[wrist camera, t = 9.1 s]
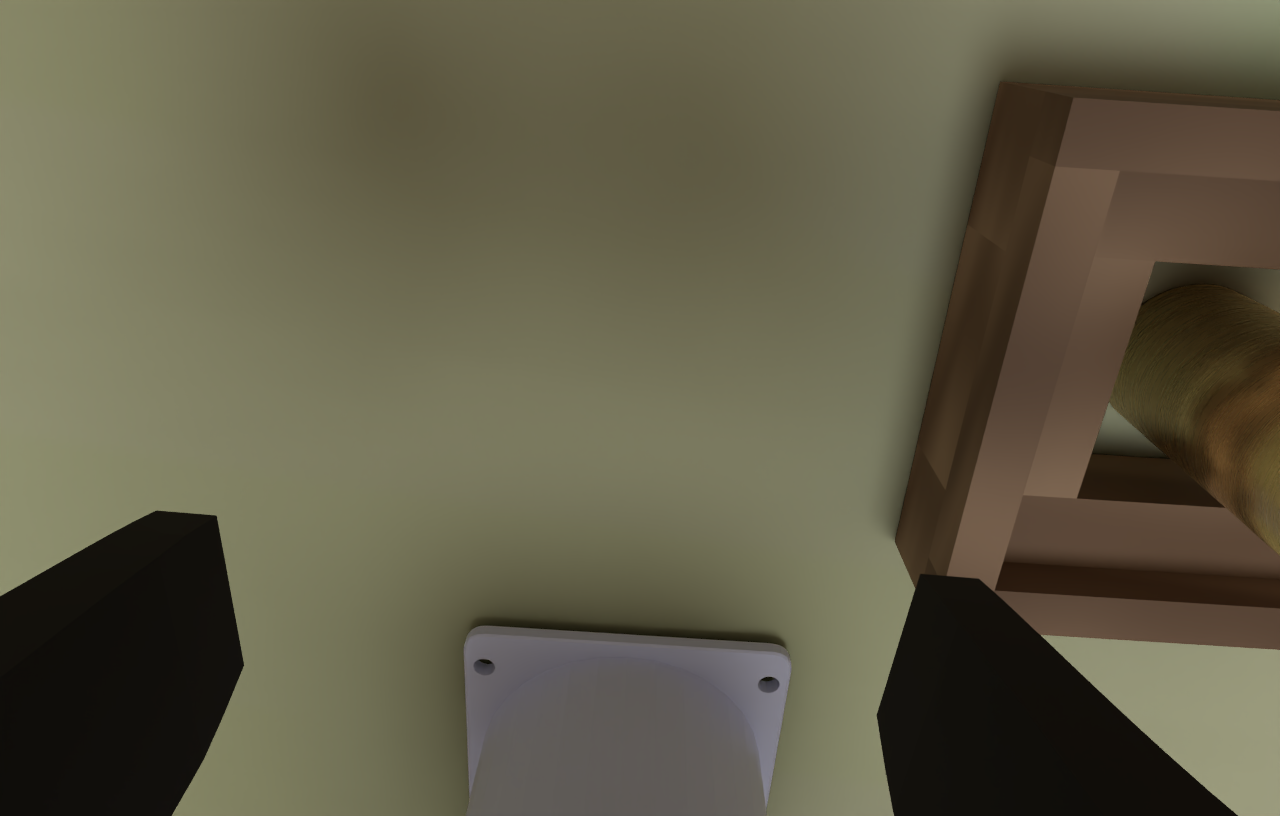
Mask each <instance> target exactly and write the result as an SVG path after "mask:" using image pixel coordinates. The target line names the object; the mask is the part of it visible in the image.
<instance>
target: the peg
mask: <svg viewBox="0 0 1280 816" xmlns="http://www.w3.org/2000/svg"><path fill="white" fill-rule="evenodd" d="M1109 402H1110V404H1111V405H1112V407H1113V408H1114V409H1115V410H1116V411H1117V412H1118V413H1119V414H1120V415H1121V416H1123V417H1124V418H1125V419H1126V420H1127V421H1128V422H1129V423H1130V424H1132V425H1133V426H1134V427H1135V428H1136V429H1137V430H1138V431H1139V432H1141V433H1142V434H1143V435H1144V436H1145V437H1146V438H1147V439H1149V440H1150V441H1151V442H1152V443H1153V444H1154V445H1155V446H1156V447H1158V448H1159V449H1160V450H1161V451H1162V452H1163V453H1164V454H1165V455H1167V456H1168V457H1169V458H1170V459H1171V460H1172V461H1173V462H1174V463H1176V464H1177V465H1178V466H1179V467H1180V468H1181V469H1182V470H1183V471H1185V472H1186V473H1187V474H1188V475H1189V476H1190V477H1191V478H1192V479H1194V480H1195V481H1196V482H1197V483H1198V484H1199V485H1200V486H1201V487H1203V488H1204V489H1205V490H1206V491H1207V492H1208V493H1209V494H1210V495H1212V496H1213V497H1214V498H1215V499H1216V500H1217V501H1218V502H1220V503H1221V504H1222V505H1223V506H1224V507H1225V508H1226V509H1227V510H1229V511H1230V512H1231V513H1232V514H1233V515H1234V516H1235V517H1236V518H1238V519H1239V520H1240V521H1241V522H1242V523H1243V524H1244V525H1245V526H1247V527H1248V528H1249V529H1250V530H1251V531H1252V532H1253V533H1254V534H1256V535H1257V536H1258V537H1259V538H1260V539H1261V540H1262V541H1263V542H1265V543H1266V544H1267V545H1268V546H1269V547H1270V548H1271V549H1272V550H1274V551H1275V552H1276V553H1277V554H1278V555H1279V556H1280V313H1278V312H1276V311H1274V310H1272V309H1270V308H1268V307H1266V306H1264V305H1262V304H1260V303H1258V302H1256V301H1254V300H1252V299H1250V298H1248V297H1246V296H1244V295H1242V294H1240V293H1238V292H1236V291H1234V290H1231V289H1229V288H1226V287H1223V286H1218V285H1211V284H1194V285H1187V286H1182V287H1178V288H1175V289H1171V290H1169V291H1166V292H1164V293H1161V294H1159V295H1157V296H1155V297H1154V298H1152V299H1150V300H1148V301H1147V302H1145V303H1144V304H1142V305H1141V306H1140V309H1139V312H1138V315H1137V318H1136V321H1135V324H1134V327H1133V330H1132V333H1131V336H1130V339H1129V342H1128V345H1127V348H1126V351H1125V354H1124V357H1123V360H1122V363H1121V366H1120V369H1119V372H1118V375H1117V378H1116V381H1115V384H1114V387H1113V390H1112V393H1111V396H1110V400H1109Z"/></svg>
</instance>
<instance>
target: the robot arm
mask: <svg viewBox="0 0 1280 816" xmlns="http://www.w3.org/2000/svg"><path fill="white" fill-rule="evenodd" d="M479 659H487V660H490V661H491V662H492V664H485V663H482V662H481V661H479ZM243 666H244V662H243V657H242V652H241V646H240V641H239V635H238V630H237V624H236V619H235V613H234V608H233V603H232V597H231V592H230V586H229V581H228V575H227V570H226V564H225V559H224V553H223V548H222V543H221V537H220V532H219V526H218V521H217V516H215V515H203V514H191V513H178V512H166V511H155V512H153V513H151V514H149V515H146V516H144V517H142V518H140V519H138V520H136V521H134V522H132V523H130V524H129V525H127V526H125V527H123V528H121V529H119V530H117V531H115V532H114V533H112V534H110V535H108V536H106V537H104V538H103V539H101V540H99V541H97V542H95V543H94V544H92V545H90V546H88V547H86V548H85V549H83V550H81V551H79V552H78V553H76V554H74V555H72V556H71V557H69V558H67V559H65V560H63V561H62V562H60V563H58V564H56V565H55V566H53V567H51V568H49V569H48V570H46V571H44V572H42V573H41V574H39V575H37V576H35V577H34V578H32V579H30V580H28V581H27V582H25V583H23V584H21V585H20V586H18V587H16V588H14V589H12V590H11V591H9V592H7V593H5V594H4V595H2V596H0V816H172V814H173V812H174V810H175V809H176V807H177V805H178V804H179V802H180V800H181V798H182V797H183V795H184V793H185V791H186V790H187V788H188V786H189V785H190V783H191V781H192V779H193V777H194V776H195V774H196V772H197V770H198V769H199V767H200V765H201V763H202V761H203V760H204V758H205V755H206V753H207V751H208V749H209V746H210V744H211V742H212V740H213V738H214V735H215V733H216V731H217V729H218V726H219V724H220V722H221V720H222V717H223V715H224V713H225V710H226V708H227V705H228V703H229V701H230V698H231V696H232V693H233V691H234V688H235V686H236V683H237V681H238V679H239V676H240V674H241V671H242V669H243ZM464 669H465V695H466V721H467V747H468V773H469V798H470V799H469V803H468V808H467V812H466V816H767V812H766V809H767V803H768V798H769V792H770V787H771V781H772V775H773V770H774V764H775V759H776V753H777V748H778V742H779V736H780V731H781V725H782V720H783V714H784V708H785V703H786V697H787V692H788V686H789V681H790V675H791V669H792V668H791V660H790V655H789V653H788V652H787V650H786V649H785V648H784V647H782V646H780V645H777V644H773V643H757V642H741V641H725V640H709V639H693V638H677V637H661V636H645V635H629V634H613V633H597V632H581V631H565V630H549V629H533V628H517V627H501V626H478V627H476V628H474V629H472V630H471V631H470V632H469V633H468V635H467V638H466V641H465V645H464ZM764 677H774V678H775V679H773V680H771V681H762V680H761V679H763V678H764ZM877 720H878V726H879V732H880V739H881V745H882V751H883V757H884V764H885V770H886V775H887V781H888V786H889V791H890V797H891V802H892V808H893V812H894V816H1238V815H1236V814H1235V813H1234V812H1233V811H1232V810H1231V809H1229V808H1228V807H1227V806H1226V805H1225V804H1224V803H1222V802H1221V801H1220V800H1219V799H1218V798H1216V797H1215V796H1214V795H1213V794H1212V793H1211V792H1209V791H1208V790H1207V789H1206V788H1205V787H1204V786H1203V785H1201V784H1200V783H1199V782H1198V781H1197V780H1196V779H1195V778H1194V777H1192V776H1191V775H1190V774H1189V773H1188V772H1187V771H1186V770H1185V769H1183V768H1182V767H1181V766H1180V765H1179V764H1178V763H1177V762H1176V761H1174V760H1173V759H1172V758H1171V757H1170V756H1169V755H1168V754H1167V753H1165V752H1164V751H1163V750H1162V749H1161V748H1160V747H1159V746H1158V745H1157V744H1156V743H1154V742H1153V741H1152V740H1151V739H1150V738H1149V737H1148V736H1147V735H1146V734H1145V733H1143V732H1142V731H1141V730H1140V729H1139V728H1138V727H1137V726H1136V725H1135V724H1134V723H1133V722H1132V721H1131V720H1129V719H1128V718H1127V717H1126V716H1125V715H1124V714H1123V713H1122V712H1121V711H1120V710H1119V709H1118V708H1116V707H1115V706H1114V705H1113V704H1112V703H1111V702H1110V701H1109V700H1108V699H1107V698H1106V697H1105V696H1104V695H1103V694H1102V693H1101V692H1099V691H1098V690H1097V689H1096V688H1095V687H1094V686H1093V685H1092V684H1091V683H1090V682H1089V681H1088V680H1087V679H1086V678H1085V677H1084V676H1083V675H1081V674H1080V673H1079V672H1078V671H1077V670H1076V669H1075V668H1074V667H1073V666H1072V665H1071V664H1070V663H1069V662H1068V661H1067V660H1066V659H1065V658H1064V657H1063V656H1062V655H1061V654H1059V653H1058V652H1057V651H1056V650H1055V649H1054V648H1053V647H1052V646H1051V645H1050V644H1049V643H1048V642H1047V641H1046V640H1045V639H1044V638H1043V637H1042V636H1041V635H1040V634H1039V633H1038V632H1036V631H1035V630H1034V629H1033V628H1032V627H1031V626H1030V625H1029V624H1028V623H1027V622H1026V621H1025V620H1024V619H1023V618H1022V617H1021V616H1020V615H1019V614H1018V613H1016V612H1015V611H1014V610H1013V609H1012V608H1011V607H1010V606H1009V605H1008V604H1007V603H1006V602H1005V601H1004V600H1003V599H1001V598H1000V597H999V596H998V595H997V594H996V593H995V592H994V591H993V590H991V589H990V588H989V587H988V586H987V585H986V584H985V583H983V582H982V581H981V580H980V579H978V578H966V577H954V576H942V575H930V574H920V576H919V579H918V582H917V586H916V589H915V592H914V595H913V599H912V602H911V605H910V608H909V612H908V615H907V618H906V622H905V625H904V628H903V631H902V635H901V638H900V641H899V644H898V648H897V651H896V654H895V657H894V661H893V664H892V667H891V670H890V674H889V677H888V680H887V684H886V687H885V690H884V693H883V697H882V700H881V703H880V706H879V710H878V713H877Z"/></svg>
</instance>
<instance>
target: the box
mask: <svg viewBox="0 0 1280 816" xmlns="http://www.w3.org/2000/svg"><path fill="white" fill-rule="evenodd" d="M1155 261H1159V262H1174V263H1189V264H1205V265H1220V266H1236V267H1251V268H1266V269H1280V100H1271V99H1256V98H1241V97H1226V96H1211V95H1196V94H1181V93H1166V92H1150V91H1135V90H1120V89H1105V88H1090V87H1075V86H1060V85H1045V84H1030V83H1015V82H1000V84H999V89H998V93H997V98H996V102H995V106H994V111H993V115H992V119H991V124H990V128H989V133H988V137H987V141H986V146H985V150H984V154H983V159H982V163H981V168H980V172H979V176H978V181H977V185H976V189H975V194H974V198H973V203H972V207H971V211H970V216H969V220H968V224H967V229H966V233H965V238H964V242H963V246H962V251H961V255H960V259H959V264H958V268H957V273H956V277H955V281H954V286H953V290H952V294H951V299H950V303H949V308H948V312H947V316H946V321H945V325H944V329H943V334H942V338H941V343H940V347H939V351H938V356H937V360H936V364H935V369H934V373H933V378H932V382H931V386H930V391H929V395H928V399H927V404H926V408H925V413H924V417H923V421H922V426H921V430H920V434H919V439H918V443H917V448H916V452H915V456H914V461H913V465H912V469H911V474H910V478H909V483H908V487H907V491H906V496H905V500H904V504H903V509H902V513H901V518H900V522H899V526H898V531H897V535H896V539H895V543H896V545H897V548H898V550H899V552H900V555H901V557H902V559H903V561H904V564H905V566H906V568H907V571H908V573H909V575H910V577H911V580H912V582H913V584H914V587H915V589H916V586H917V582H918V579H919V576H920V574H930V575H942V576H954V577H966V578H978V579H980V580H981V581H982V582H983V583H985V584H986V585H987V586H988V587H989V588H990V589H991V590H993V591H994V592H995V593H996V594H997V595H998V596H999V597H1000V598H1001V599H1003V600H1004V601H1005V602H1006V603H1007V604H1008V605H1009V606H1010V607H1011V608H1012V609H1013V610H1014V611H1015V612H1016V613H1018V614H1019V615H1020V616H1021V617H1022V618H1023V619H1024V620H1025V621H1026V622H1027V623H1028V624H1029V625H1030V626H1031V627H1032V628H1033V629H1034V630H1035V631H1036V632H1038V633H1039V634H1040V635H1054V636H1070V637H1086V638H1102V639H1118V640H1134V641H1150V642H1165V643H1181V644H1197V645H1213V646H1229V647H1245V648H1261V649H1277V650H1280V556H1279V555H1278V554H1277V553H1276V552H1275V551H1274V550H1272V549H1271V548H1270V547H1269V546H1268V545H1267V544H1266V543H1265V542H1263V541H1262V540H1261V539H1260V538H1259V537H1258V536H1257V535H1256V534H1254V533H1253V532H1252V531H1251V530H1250V529H1249V528H1248V527H1247V526H1245V525H1244V524H1243V523H1242V522H1241V521H1240V520H1239V519H1238V518H1236V517H1235V516H1234V515H1233V514H1232V513H1231V512H1230V511H1229V510H1227V509H1226V508H1225V507H1224V506H1223V505H1222V504H1221V503H1220V502H1218V501H1217V500H1216V499H1215V498H1214V497H1213V496H1212V495H1210V494H1209V493H1208V492H1207V491H1206V490H1205V489H1204V488H1203V487H1201V486H1200V485H1199V484H1198V483H1197V482H1196V481H1195V480H1194V479H1192V478H1191V477H1190V476H1189V475H1188V474H1187V473H1186V472H1185V471H1183V470H1182V469H1181V468H1180V467H1179V466H1178V465H1177V464H1176V463H1174V462H1173V461H1172V460H1171V459H1163V458H1147V457H1131V456H1116V455H1100V454H1092V451H1093V448H1094V445H1095V442H1096V439H1097V436H1098V433H1099V430H1100V427H1101V424H1102V421H1103V418H1104V415H1105V412H1106V409H1107V406H1108V403H1109V400H1110V396H1111V393H1112V390H1113V387H1114V384H1115V381H1116V378H1117V375H1118V372H1119V369H1120V366H1121V363H1122V360H1123V357H1124V354H1125V351H1126V348H1127V345H1128V342H1129V339H1130V336H1131V333H1132V330H1133V327H1134V324H1135V321H1136V318H1137V315H1138V312H1139V309H1140V306H1141V303H1142V300H1143V297H1144V294H1145V291H1146V288H1147V285H1148V282H1149V279H1150V276H1151V273H1152V270H1153V267H1154V264H1155Z"/></svg>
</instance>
